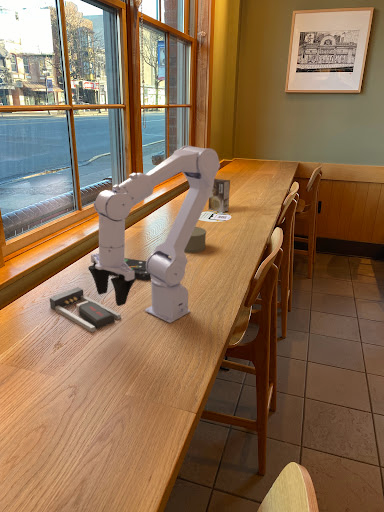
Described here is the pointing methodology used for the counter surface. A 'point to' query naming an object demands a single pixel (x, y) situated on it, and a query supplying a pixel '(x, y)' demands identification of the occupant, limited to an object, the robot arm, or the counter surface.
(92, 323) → the usb drive
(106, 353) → the counter surface
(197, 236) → the can
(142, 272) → the disk drive
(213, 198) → the coffee box
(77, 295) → the dock
